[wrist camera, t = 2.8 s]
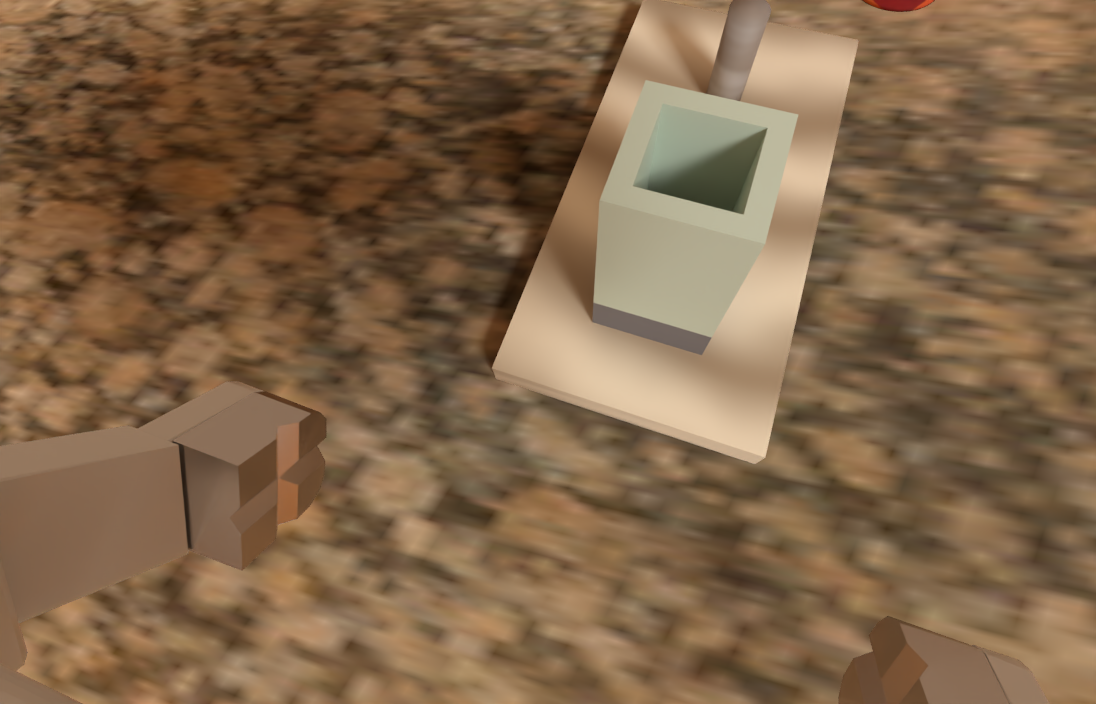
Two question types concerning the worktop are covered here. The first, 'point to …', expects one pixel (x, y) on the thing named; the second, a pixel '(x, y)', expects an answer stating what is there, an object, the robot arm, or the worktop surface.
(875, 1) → the paper cup
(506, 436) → the worktop surface
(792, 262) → the pin board
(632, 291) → the sleeve
